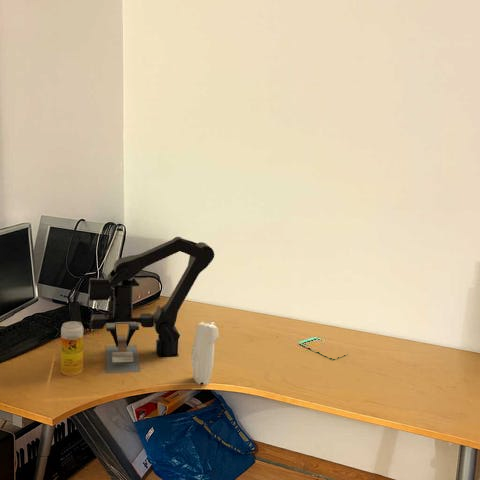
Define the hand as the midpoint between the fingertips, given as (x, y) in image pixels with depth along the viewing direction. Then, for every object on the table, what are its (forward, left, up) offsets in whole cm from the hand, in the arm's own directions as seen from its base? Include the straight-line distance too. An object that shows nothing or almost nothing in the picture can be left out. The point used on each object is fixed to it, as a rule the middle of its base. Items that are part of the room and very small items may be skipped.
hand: (121, 346), depth 157 cm
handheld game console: (-70, 0, -4) cm, 70 cm away
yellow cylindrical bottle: (+14, +9, -4) cm, 17 cm away
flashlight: (-23, +19, -4) cm, 30 cm away
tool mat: (0, +2, -4) cm, 4 cm away
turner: (0, +2, -1) cm, 2 cm away
